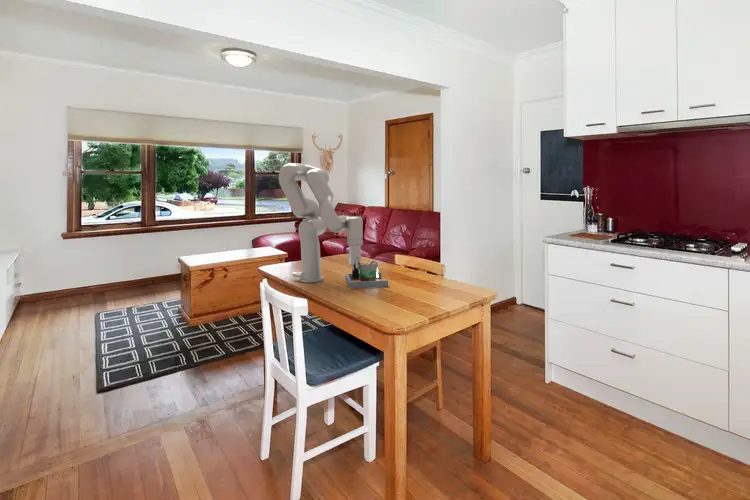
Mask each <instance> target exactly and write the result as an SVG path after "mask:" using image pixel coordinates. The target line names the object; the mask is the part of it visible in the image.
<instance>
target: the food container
mask: <svg viewBox="0 0 750 500" xmlns="http://www.w3.org/2000/svg"><path fill="white" fill-rule="evenodd" d="M378 267H379V265H378V262H377V261H375V260H372V261H371V262H370V263H369V262H368V263H364V264H361V265H360V266H359V273H360V279H359V282H360V281H377V279H376V272H377V271H378V270H377V269H378Z"/></svg>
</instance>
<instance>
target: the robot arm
mask: <svg viewBox="0 0 750 500" xmlns="http://www.w3.org/2000/svg"><path fill="white" fill-rule="evenodd" d="M297 181H303V182H306V184H307V186H308V187H309V189H310V190H311V192H312V194H313V196H314V198H315V199H316V200H314V199H313V198H309V197H305V195H304V192H303V191H302V189H301V187H300V186H299V184H298V183H297ZM329 181H330V176H329V174H328V172H327V171H326V170H324V169H322V168H318V167H316V166H315V167H314V166H311V165H310V164H305V163H296V162H294V163H293V162H290V163H286V164H284V165H283V166H282V167H281V169H280V170H279V174H278V183H279V187H281V190H282V192H283V193H284V196H285V198H286V199H287V202H288V204H289V207H290V209H291V211H292V213H293V215H294V216H295V217H296V218H302V219H303V218H304V220H302V221H300V223H299V225H298V235H299V240H300V258H301V261H300V262H301V271H299V272H292V277H295V278H298V281H299V282H300V283H301V282H302V283H306V284H307V283H318V282H322V281H324V279H325V278H324V276H323V275H321V273H322V272H321V245H320V240H319V237H318V236H321V235H323V234H324V233H325V232H326V230H327V229H328V230H329V231H330V232H332V233H335V234H336V233H340V232H343V231H347V232H346V235H347V238H346V239H347V240H346V241H347V246H349V248H348V263H349V265H350V266H351V267H352V271H351V274H352V278H353V279H358V280H360V279H359V273H360V270H359V266H360V265H362V252H361V251H362V248H361V247H362V246H363V245H364V240H363V238H364V237H363V236H364V235H363V234H364V233H363V226H364V224H363V218H362V217H361V216H357V215H356V216H353V215H352V216H348V215H337V212H336V211H335V209H334V206H333V199H334V193H333V191H332V190H331V188H330V186H329V184H328V183H329ZM316 201H317V202H316Z"/></svg>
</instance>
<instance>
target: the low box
mask: <svg viewBox="0 0 750 500" xmlns="http://www.w3.org/2000/svg"><path fill="white" fill-rule="evenodd" d="M378 274H379V278H378V279H382V271H381V272H380V271H379V272H378ZM344 277H345V282H346V283H347V286H348V287H349V289H352V290H353V289H355V290H356V289H370V288H371V289H373V288H388V287H389V280H388V279H387V280H386V279H383V280H376V281H360V272H359V279H353V278H352V273H345V276H344ZM353 280H354V281H353ZM355 280H356V281H355ZM357 280H359V281H357Z"/></svg>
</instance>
